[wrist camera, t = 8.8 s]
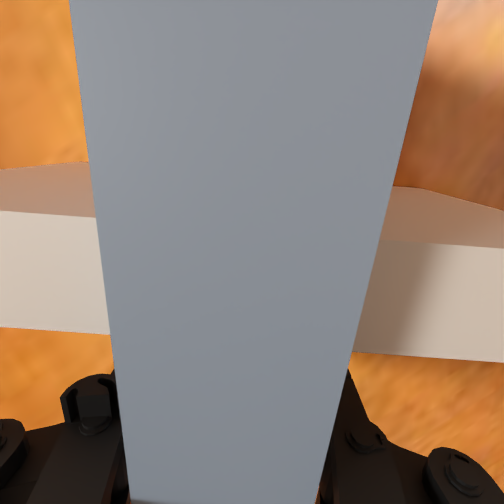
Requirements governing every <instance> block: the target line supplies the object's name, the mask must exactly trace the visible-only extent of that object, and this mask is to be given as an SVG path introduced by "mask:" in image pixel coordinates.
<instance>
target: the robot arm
mask: <svg viewBox="0 0 504 504" xmlns="http://www.w3.org/2000/svg"><path fill="white" fill-rule="evenodd" d="M60 401H61V405H62V410H63V414H64V419H65V422H64V423H60V424H57V425H53V426H49V427H44V428H39V429H35V430H30V431H25V429H24V427H23V425H22V423H21V422H20V421H17V420H15V419H0V504H130V502H131V498H130V490H129V482H128V474H127V465H126V457H125V449H124V441H123V433H122V425H121V417H120V409H119V401H118V393H117V385H116V377H115V368H114V370H113V371H112V373H111V374H96V375H91V376H88V377H85V378H83V379H81V380H78V381H77V382H75V383H74V384H72V385H71V386H70V387H68V388H67V389H66V390H65V392H64V393H63V394H62V395H61V397H60ZM315 504H504V493H503V492H502V490H501V489H500V488H499V487H498V485H497V484H496V483H495V481H494V480H493V479H492V477H491V476H490V475H489V474H488V473H487V472H486V471H485V470H484V469H483V468H482V467H481V466H480V464H478V463H477V462H475V461H474V460H473V459H471V458H470V457H469V456H467V455H466V454H463V453H461V452H459V451H457V450H455V449H451V448H446V447H440V448H436V449H433V450H432V452H431V453H430V454H429V456H428V457H425V456H423V455H420V454H417V453H415V452H412V451H409V450H406V449H404V448H401V447H399V446H397V445H395V444H393V443H391V442H390V441H388V440H387V438H386V436H385V434H384V433H383V432H382V431H381V430H380V429H379V428H378V426H376V425H375V424H373V423H372V422H370V421H369V419H368V417H367V414H366V412H365V409H364V407H363V404H362V402H361V399H360V397H359V394H358V392H357V389H356V387H355V384H354V382H353V379H351V374H350V372H349V369H347V373H346V377H345V381H344V385H343V389H342V393H341V397H340V401H339V406H338V410H337V414H336V418H335V422H334V426H333V430H332V434H331V438H330V442H329V446H328V450H327V454H326V458H325V463H324V467H323V471H322V475H321V479H320V483H319V490H318V494H317V498H316V502H315Z"/></svg>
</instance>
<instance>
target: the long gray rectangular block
mask: <svg viewBox="0 0 504 504" xmlns="http://www.w3.org/2000/svg"><path fill="white" fill-rule="evenodd" d="M437 3H438V0H69V5H70V13H71V21H72V29H73V37H74V45H75V53H76V61H77V69H78V77H79V86H80V94H81V102H82V110H83V118H84V126H85V134H86V142H87V150H88V158H89V166H90V174H91V183H92V191H93V199H94V207H95V215H96V223H97V231H98V239H99V247H100V255H101V263H102V271H103V280H104V288H105V296H106V304H107V312H108V320H109V328H110V336H111V344H112V352H113V360H114V368H115V377H116V385H117V393H118V401H119V409H120V417H121V425H122V433H123V441H124V449H125V457H126V465H127V474H128V482H129V490H130V498H131V504H314V503H315V499H316V495H317V491H318V487H319V483H320V479H321V475H322V471H323V467H324V463H325V458H326V454H327V450H328V446H329V442H330V438H331V434H332V430H333V426H334V422H335V418H336V414H337V410H338V406H339V401H340V397H341V393H342V389H343V385H344V381H345V377H346V373H347V369H348V365H349V361H350V357H351V353H352V349H353V345H354V340H355V336H356V332H357V328H358V324H359V320H360V316H361V312H362V308H363V304H364V300H365V296H366V292H367V288H368V283H369V279H370V275H371V271H372V267H373V263H374V259H375V255H376V251H377V247H378V243H379V239H380V235H381V231H382V227H383V222H384V218H385V214H386V210H387V206H388V202H389V198H390V194H391V190H392V186H393V182H394V178H395V174H396V170H397V165H398V161H399V157H400V153H401V149H402V145H403V141H404V137H405V133H406V129H407V125H408V121H409V117H410V113H411V108H412V104H413V100H414V96H415V92H416V88H417V84H418V80H419V76H420V72H421V68H422V64H423V60H424V56H425V52H426V47H427V43H428V39H429V35H430V31H431V27H432V23H433V19H434V15H435V11H436V7H437Z"/></svg>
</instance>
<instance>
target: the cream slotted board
mask: <svg viewBox="0 0 504 504" xmlns="http://www.w3.org/2000/svg"><path fill="white" fill-rule="evenodd" d="M0 327H10V328H24V329H38V330H52V331H66V332H80V333H94V334H108V335H110V328H109V320H108V312H107V304H106V296H105V288H104V280H103V271H102V263H101V255H100V247H99V239H98V231H97V223H96V215H95V207H94V199H93V191H92V183H91V174H90V166H89V162H70V163H60V164H50V165H41V166H31V167H21V168H11V169H1V170H0ZM352 352H361V353H375V354H389V355H403V356H418V357H432V358H446V359H460V360H474V361H488V362H502V363H504V211H503V210H500V209H496V208H492V207H489V206H485V205H481V204H478V203H474V202H470V201H467V200H463V199H459V198H456V197H452V196H448V195H445V194H441V193H437V192H433V191H430V190H426V189H422V188H412V187H399V186H392V190H391V194H390V198H389V202H388V206H387V210H386V214H385V218H384V222H383V227H382V231H381V235H380V239H379V243H378V247H377V251H376V255H375V259H374V263H373V267H372V271H371V275H370V279H369V283H368V288H367V292H366V296H365V300H364V304H363V308H362V312H361V316H360V320H359V324H358V328H357V332H356V336H355V340H354V345H353V349H352Z"/></svg>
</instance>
